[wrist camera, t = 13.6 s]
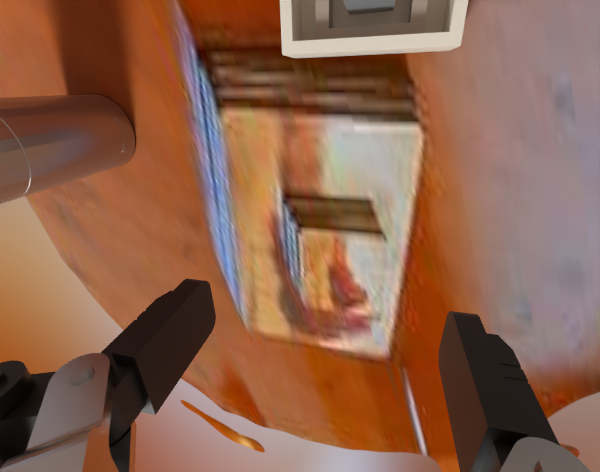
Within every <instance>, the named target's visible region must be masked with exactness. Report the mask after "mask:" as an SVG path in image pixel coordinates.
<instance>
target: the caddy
mask: <svg viewBox="0 0 600 472" xmlns="http://www.w3.org/2000/svg"><path fill="white" fill-rule="evenodd" d="M467 6H468V0H395V4H394V10H393V11H385V12H374V13H362V14H351V15H349V13H348V11H347V9H346V7H345V5H344V3H343V0H280V14H281V37H282V55H285V56H289V57H292V58H312V57H333V56H354V55H374V54H395V53H416V52H437V51H450V50H452V49H454V48H456V47H459V46H461V40H462V34H463V29H464V23H465V17H466V11H467Z"/></svg>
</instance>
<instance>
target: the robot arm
mask: <svg viewBox="0 0 600 472" xmlns="http://www.w3.org/2000/svg"><path fill="white" fill-rule="evenodd" d="M134 149H135V136H134V131H133V128H132V125H131V123H130V121H129V119H128V117H127V116H126V114H125V113H124V112H123V110H122V109H121V108H120V107H119V106H118V105H117V104H116V103H114V102H113V101H112V100H110V99H109V98H106V97H104V96H102V95H97V94H90V95H58V96H33V97H9V98H0V204H2V203H5V202H9V201H12V200H15V199H17V198H20V197H23V196H27V195H30V194H33V193H36V192H39V191H42V190H46V189H49V188H52V187H55V186H58V185H61V184H64V183H67V182H71V181H74V180H77V179H80V178H83V177H86V176H89V175H93V174H96V173H99V172H102V171H105V170H109V169H112V168H115V167H118V166H121V165H123V164H125V163H127V162H128V161H129V160H130V159H131V157H132V155H133V153H134ZM215 319H216V315H215V309H214V304H213V299H212V293H211V288H210V284H209V283H208V282H207V281H202V280H194V279H185V280H184V281H183V282H182V283H181V284H180V285H179V286H178V287H177V288H176V289H175V290H174V291H169V292H168V293H166V294H164V295H162V296H161V297H159V298H157V299H156V300H155V301H154V302H153V303H152V304H151V305H150V306H149V307H148V308H147V309H146V311H143V312H142V313H141V314H140V315H139V316H138V317H137V320H134V321H133V322H132V323H131V324H130V325H129V326H128V327H127V328H126V329H125V330H124V331H123V332H122V333H121V334H120V335H119V336H118V337H117V338H116V339H114V341H113V342H111V343H110V344H109V345H108V346H107V347H106V348H105V349H104V350H103V351H102V352H101V353H90V354H86V355H83V356H80V357H77V358H75V359H73V360H71V361H69V362H68V363H67V364H65V365H63V366H62V367H61V368H60V369H59V370H58V371H56V372H49V373H39V374H30V373H29V372H28V370H27V368H26V366H25V365H24V363H22V362H20V361H7V362H2V363H0V472H135V447H136V423H135V419H136V418H137V416H138V415H139V413H140V412H145V413H150V414H154V415H156V413H157V412H158V410H159V409H160V407H161V406H162V404H163V403H164V401H165V400H166V398H167V397H168V395H169V394H170V393H171V391H172V390H173V388H174V387H175V385H176V384H177V382H178V381H179V379H180V378H181V376H182V375H183V373H184V372H185V371H186V369H187V368H188V366H189V365H190V363H191V362H192V360H193V359H194V357H195V356H196V354H197V353H198V351H199V350H200V348H201V347H202V345H203V344H204V342H205V341H206V340H207V338H208V337H209V335H210V334H211V332H212V330H213V328H214V325H215ZM439 370H440V375H441V379H442V384H443V389H444V394H445V399H446V404H447V409H448V414H449V419H450V424H451V428H452V433H453V438H454V443H455V448H456V453H457V458H458V463H459V468H460V472H590V470H589V469H588V468H587V467H586V466H585V465H584V464H583V463H582V462H581V461H580V460H579V459H578V458H577V457H575V456H574V455H573V454H572V453H570V452H569V451H567V450H566V449H564V448H563V447H561V446H560V444H559V443H558V441H557V439H556V437H555V435H554V433H553V431H552V429H551V427H550V425H549V422H548V420H547V418H546V416H545V414H544V412H543V410H542V408H541V406H540V404H539V402H538V400H537V398H536V396H535V394H534V392H533V390H532V388H531V386H530V384H528V380H527V378H526V376H525V374H524V372H523V370H521V366H520V364H519V362H518V360H517V358H516V356H515V354H514V351H513V350H512V349H511V348H510V347H509V346H508V345H507V344H506V343H505V342H504V341H503V340H502V339H501V338H500V337H499V336H498V335H495V334H487V333H486V332H485V329H484V327H483V324H482V322H481V320H480V318H479V316H478V315H477V314H469V313H461V312H453V311H450V312H449V313H448V315H447V319H446V323H445V327H444V331H443V335H442V340H441V344H440V348H439Z"/></svg>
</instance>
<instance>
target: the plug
mask: <svg viewBox="0 0 600 472" xmlns="http://www.w3.org/2000/svg"><path fill="white" fill-rule="evenodd" d="M343 3H344V5H345V7H346V9H347V11H348V13H349V15H351V14H362V13H374V12H385V11H393V10H394V4H395V0H343Z"/></svg>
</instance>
